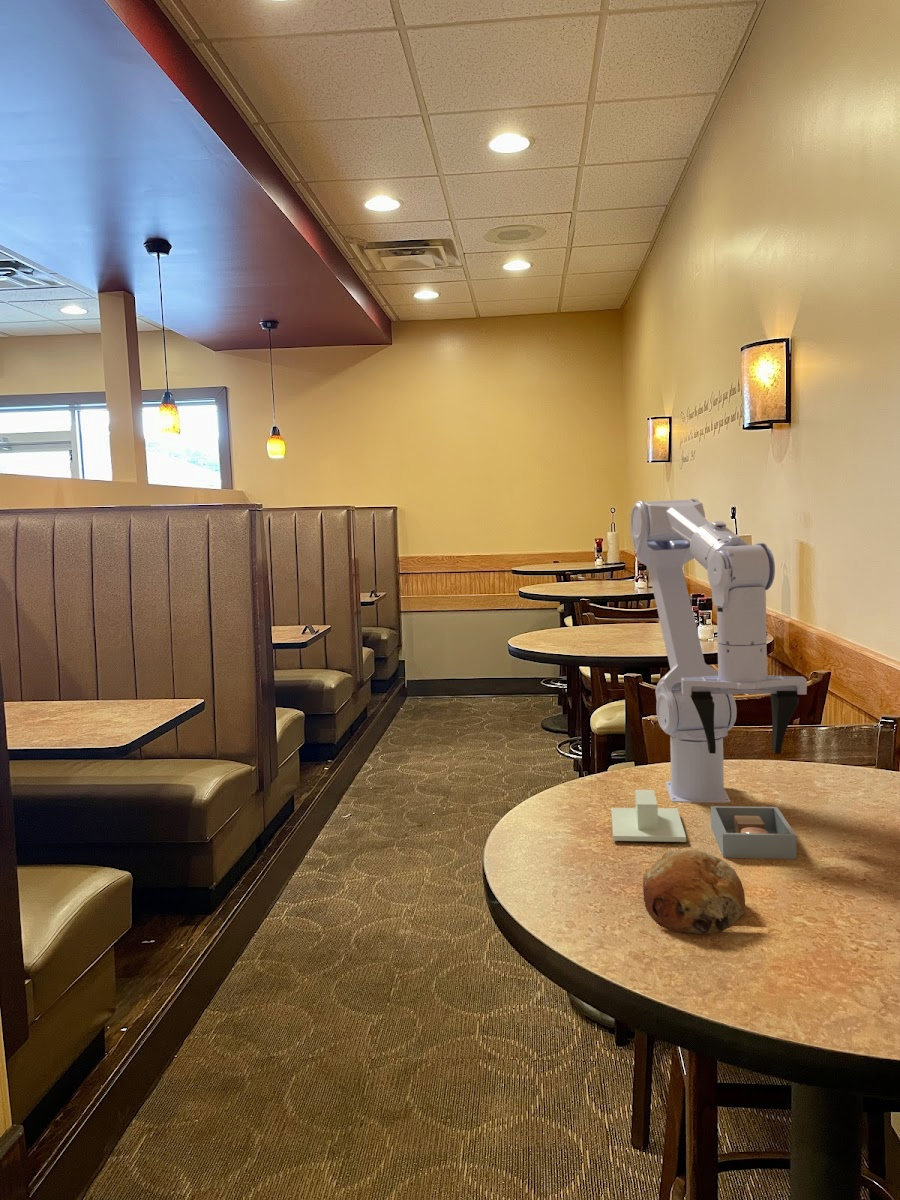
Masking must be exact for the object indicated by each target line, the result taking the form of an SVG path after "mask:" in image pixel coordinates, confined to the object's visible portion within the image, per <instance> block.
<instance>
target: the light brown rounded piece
mask: <svg viewBox="0 0 900 1200" xmlns="http://www.w3.org/2000/svg"><path fill="white" fill-rule="evenodd" d="M741 833H768V831H766V830H764V829H761V828H756V827H747V828H743V829H742V830H741Z"/></svg>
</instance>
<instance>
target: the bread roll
mask: <svg viewBox="0 0 900 1200" xmlns="http://www.w3.org/2000/svg"><path fill="white" fill-rule="evenodd" d="M642 879H643V880H642V889H643V890H642V892H643V903H644V906H645V909H646V912H648V916H650V917H651V919H653V920H655V922H656V924H657V925H658V926H660V927H661V928H664V929H666V930H669V931H673V932H677V933H684V934H695V935H713V934H717V933H722V932H724V931H725V930H728V929H730V928H732V927H733V924H735V923H737V922H738V921H739V919H740V918H741V917H742V916H744V914H745V910H746V898H745V890H744V886H743V884H742V881H741V879H740V877H739V875H738V873H736V871H735V869H734V868H733V867H732V866H731V865H730V864H729V863H727V862H726V861H725V860H723V859H721V858H719V857H717V856H715V855H712V854H709V853H707V852H705V851H700V850H696V849H691V850H690V849H688V850H676V851H675V850H674V851H665V853H663V855H662V856H661V858H660V859H658V860H657V861H655V862H654V864H653V865H651V867H650V868H649V869H648V870H647V871H646V872H645V873H644V875H643V878H642Z"/></svg>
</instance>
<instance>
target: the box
mask: <svg viewBox="0 0 900 1200" xmlns="http://www.w3.org/2000/svg"><path fill="white" fill-rule="evenodd" d="M734 816H760V818H761V819H762V821H763V823H764V830H766V831H768V833H734ZM710 828H711V831H712V833H713V836H714V838H715V840H716V843H717V845H718V846H717V847H718V848H719V851H720V853H721V856H722V858H724V859H727V858H729V859H763V860H764V859H765V860H766V859H767V860H768V859H769V860H771V859H774V860H776V859H777V860H782V859H783V860H797V859H798V857H797V855H798V853H797V834H796V833H795V831H794V830H793V828H792V827H791V825H790V824H789V822H788V821H787V819H786V818H785V816H784V815H783V813H782V812H781V810H780V809H779V807H778V806H738V805H737V806H730V805H729V806H727V805H726V806H722V805H721V806H720V805H717V806H716V805H715V806H714V805H711V806H710Z"/></svg>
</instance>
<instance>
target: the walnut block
mask: <svg viewBox="0 0 900 1200" xmlns="http://www.w3.org/2000/svg"><path fill="white" fill-rule="evenodd" d="M747 827H756V828H761V829H764V823H763V821H762V819H761V818H760V816H734V833H741V830H742V829H743V828H747Z"/></svg>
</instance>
